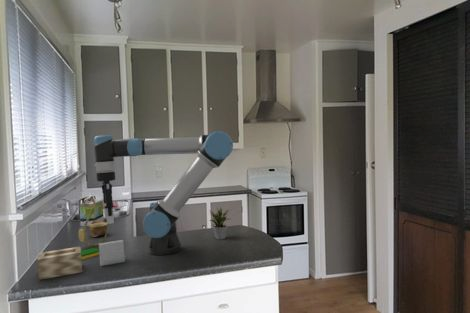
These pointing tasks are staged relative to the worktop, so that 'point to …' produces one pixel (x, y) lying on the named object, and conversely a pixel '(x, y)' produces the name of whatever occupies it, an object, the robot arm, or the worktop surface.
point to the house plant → (219, 224)
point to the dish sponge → (89, 253)
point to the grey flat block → (111, 252)
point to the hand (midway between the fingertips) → (109, 220)
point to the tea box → (86, 210)
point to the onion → (97, 229)
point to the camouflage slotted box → (59, 262)
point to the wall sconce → (98, 225)
